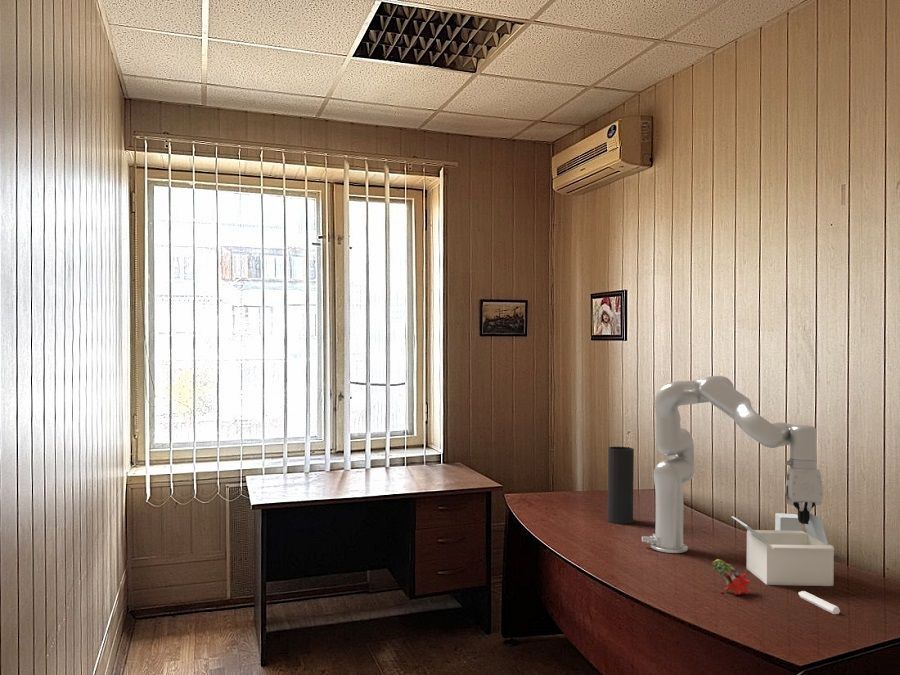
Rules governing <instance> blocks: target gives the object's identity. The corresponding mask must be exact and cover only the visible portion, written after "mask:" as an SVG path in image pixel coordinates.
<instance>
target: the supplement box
mask: <svg viewBox="0 0 900 675" xmlns="http://www.w3.org/2000/svg"><path fill="white" fill-rule="evenodd" d="M774 516H775V517H774V519H775V520H774V524H775V525H774V526H775V527H774V530H785V531H803V530H802V529H803V524H802V523H800V522H799V520H798V513H796V514H795V513H781V512H780V513H779V512H778V513H777V512H775V515H774Z"/></svg>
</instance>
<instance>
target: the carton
mask: <svg viewBox="0 0 900 675" xmlns="http://www.w3.org/2000/svg"><path fill="white" fill-rule="evenodd" d="M753 530H754V531H755V532H757V533H758V534H759V535H761V536H762V537H763V538H765V539H766V540H767V541H769V542H768V543H767V542H766V541H764V540H763V539H761V538H760V537H758V536H756V535H755V534H753V533H752V532H750V531H749V530H748V529H747V530H746V570H747V571H749V572H750V573H752V574H753V576H755V577H756V578H757V579H759V580H760V581H761V582H762V583H764V584H765V585H766V586H812V587H814V586H815V587H819V586H820V587H834V574H835V573H834V567H835V566H834V565H835V564H834V560H835V558H834V556H835V554H834V551H835V550H836V549H835V548H834V547H835V546H834V545H831V543H828V544H825V543H823V542H822V541H820V540H818V539H816V538H814V537H813V536H811V535H809V534H807V532H805V531H804V530H802V531H785V530H775V529H774V530H773V529H771V530H770V529H768V530H767V529H753Z"/></svg>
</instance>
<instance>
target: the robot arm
mask: <svg viewBox="0 0 900 675" xmlns="http://www.w3.org/2000/svg"><path fill="white" fill-rule="evenodd" d="M704 403H710V404H711V405H713V406H714V407H715V408H717V409H718V410H720V411H721V412H723V413H724V414H725V415H727V416H728V417H730V418H731V419H732V420H733V421H734V422H735V424H736V425H738V427H739V428H740V429H741V430H742V431H743V432H744V433H745V434H746V435H747V436H749V437H750V438H752V439H753V440H755V441H756V442H758V443H759V444H760V445H762V446H764V447H767V448H770V449H775V448H779V447H784V446H789V460H785V465H786V466H789V467H788V468H787V473H786V476H785V478H786V479H785V487H784V488H785V491H784V492H785V493H784V495H785V497H786V498H785V503H786V504H787V505H791V506H793V507H794V508H795V509H796V510H797V515H798V520H799V522H800V523H802V525H805V524H809V520H810V512H811V511H812V509H813V508H814V507H815V506H819V505H820V506H821V505H822V504H823V503H822V501H823V499H824V489H823V488H824V487H823V481H822V480H823V478H822V474H821V470H820V469H818V468H817V467H818V466H817V459H818V458H817V451H818V450H817V447H818V446H817V444H818V443H817V429H816V427H815V426H813V425H809V424H808V425H807V424H791V423H787V422H774V423H771V422H770V421H768V420H767V419H766V418H764V417H763V416H761V415H760V414H759V413H757V411H755V409H754V408H753V406H752V401H751V399H750V398H748V397H747V396H746V395H744V394H743V393H741V392H740V391H738V390H737V389H735V386H734V383H733V382H732V381H731V379H729V378H728V377H726V376H724V375H713V376H707V377H705V378H701V379H694V380H680V381H679V380H678V381H673V382H672V381H671V382H669V383H667V384H665V385H664V386H662V387H661V388H660V389H659V390H658V392H657V393H656V395H655V400H654V410H655V442H656V443H655V445H656V449H657V451H658V452H659V453H660V454H661V455H663V456H666V457H667V456H668V459H663V460H661V461H660V462H658V463H657V464H656V465H655V467H654V469H653V474H652V475H653V482H654V483H653V484H654V489H655V518H654V519H655V533H652V535H650V536H647V535H646V536H645V535H644V536H643V535H642V536H641V542H643V543H646V544H650V548H651V549H652V550H655V551H658V552H662V553H668V554H669V553H670V554H680V553H685V552H687V551H688V550H689V549H688V546H687V544H684V494H683V488H682V485H683V484H686V483H689V482H690V481H691V480H692V478H693V477H694V474H695V447H694V446H695V445H694V439H693V436H692V434H691V433H690V432H689V430H687V429H686V428H683V427H681V415H680V411H679V407H680V406H688V405H696V404H704Z"/></svg>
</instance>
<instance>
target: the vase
mask: <svg viewBox="0 0 900 675" xmlns="http://www.w3.org/2000/svg"><path fill="white" fill-rule="evenodd" d="M634 451H635V450H634V448H633V447H629V446H609V447H608V448H607V516H606V517H607V520H606V521H607V522H609V523H611V524H616V525H629V524H633V523H634V475H635V474H634V471H635V470H634V466H635V465H634V462H635V461H634V460H635V459H634V458H635V457H634V456H635V454H634Z"/></svg>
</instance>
